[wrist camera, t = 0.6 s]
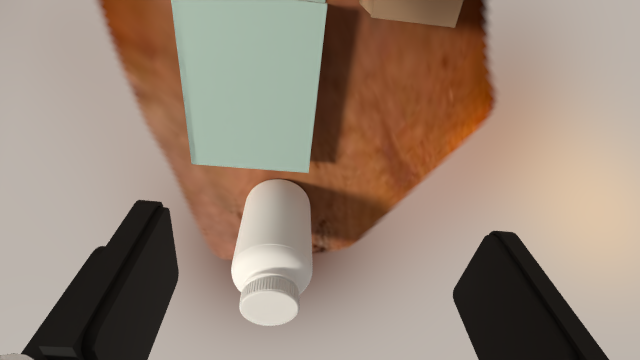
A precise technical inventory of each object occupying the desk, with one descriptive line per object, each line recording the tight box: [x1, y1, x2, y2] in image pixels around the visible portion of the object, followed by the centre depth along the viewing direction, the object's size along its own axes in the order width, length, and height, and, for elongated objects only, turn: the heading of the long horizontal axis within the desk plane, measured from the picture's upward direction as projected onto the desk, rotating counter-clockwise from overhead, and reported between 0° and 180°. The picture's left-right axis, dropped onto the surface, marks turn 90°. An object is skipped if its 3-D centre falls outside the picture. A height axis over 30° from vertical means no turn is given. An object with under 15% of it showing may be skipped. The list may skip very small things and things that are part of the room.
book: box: [171, 0, 327, 173], centre depth 31 cm, size 12×16×4 cm
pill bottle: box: [231, 179, 312, 326], centre depth 35 cm, size 8×8×15 cm
